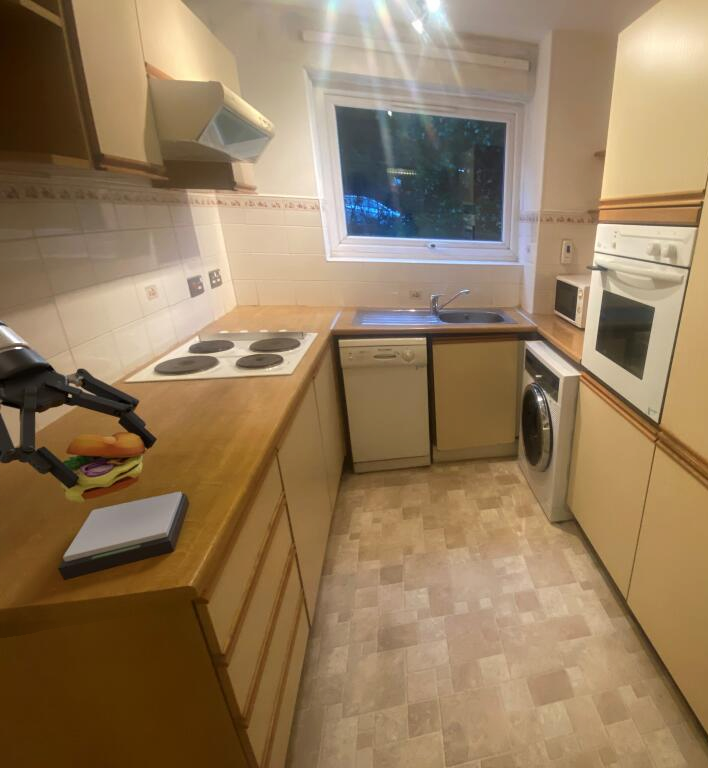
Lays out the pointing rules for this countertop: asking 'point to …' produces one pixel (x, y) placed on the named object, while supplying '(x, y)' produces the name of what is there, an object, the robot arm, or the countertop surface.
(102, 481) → the cheeseburger
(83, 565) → the kitchen scale
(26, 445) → the robot arm
